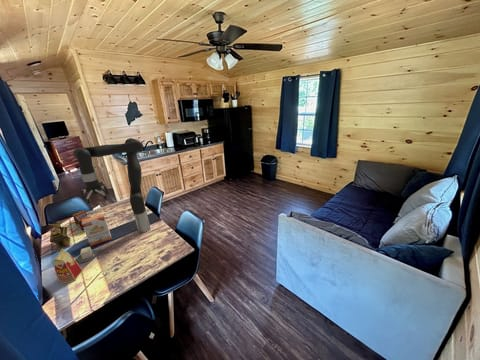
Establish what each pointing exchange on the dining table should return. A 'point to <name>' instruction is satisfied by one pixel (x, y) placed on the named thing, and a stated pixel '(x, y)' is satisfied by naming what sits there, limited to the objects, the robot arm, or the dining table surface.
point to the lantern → (80, 218)
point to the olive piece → (60, 237)
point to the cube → (86, 252)
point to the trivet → (94, 254)
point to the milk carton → (66, 267)
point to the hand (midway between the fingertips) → (98, 201)
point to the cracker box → (96, 229)
